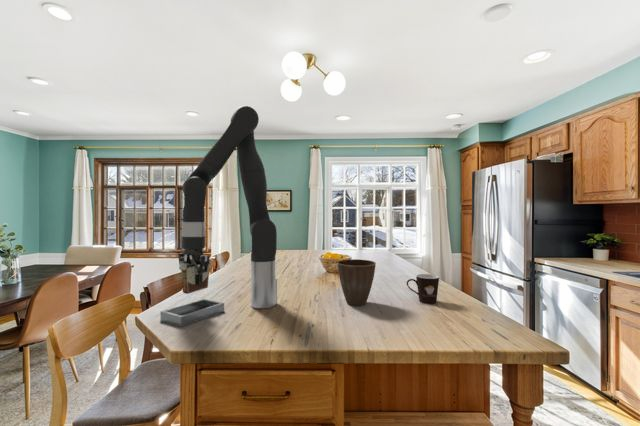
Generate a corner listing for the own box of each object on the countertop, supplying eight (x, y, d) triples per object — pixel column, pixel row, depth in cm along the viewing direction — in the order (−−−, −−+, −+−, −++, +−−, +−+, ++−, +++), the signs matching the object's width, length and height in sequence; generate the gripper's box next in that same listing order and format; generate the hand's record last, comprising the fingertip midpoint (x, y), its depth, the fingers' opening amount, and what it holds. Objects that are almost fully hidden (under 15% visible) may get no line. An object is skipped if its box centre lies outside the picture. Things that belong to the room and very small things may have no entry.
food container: (197, 285, 109) (197, 258, 109) (210, 286, 107) (211, 259, 107) (169, 293, 97) (170, 262, 98) (184, 294, 95) (185, 263, 96)
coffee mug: (441, 300, 118) (441, 275, 118) (437, 306, 111) (436, 279, 111) (412, 296, 124) (411, 272, 124) (406, 301, 117) (405, 276, 117)
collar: (204, 306, 112) (204, 298, 112) (224, 311, 107) (224, 303, 107) (160, 320, 98) (160, 311, 98) (181, 326, 92) (181, 317, 92)
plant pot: (383, 303, 115) (383, 262, 115) (359, 312, 105) (359, 267, 105) (353, 295, 126) (353, 258, 126) (329, 303, 115) (329, 262, 115)
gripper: (171, 234, 103) (170, 283, 103) (197, 236, 95) (196, 289, 95) (190, 233, 109) (189, 279, 109) (216, 235, 102) (216, 284, 102)
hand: (193, 283), depth 102 cm, fingers closed on food container, 5 cm apart
